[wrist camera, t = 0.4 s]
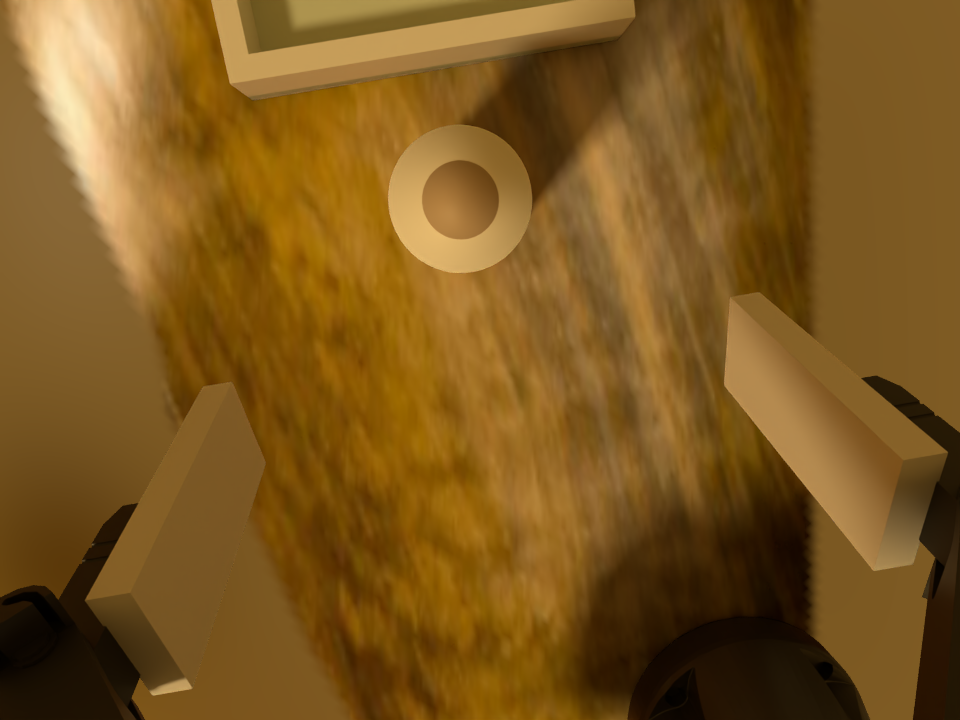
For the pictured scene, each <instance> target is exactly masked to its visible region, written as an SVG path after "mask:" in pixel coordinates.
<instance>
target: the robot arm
mask: <svg viewBox="0 0 960 720" xmlns="http://www.w3.org/2000/svg"><path fill="white" fill-rule="evenodd" d="M724 386H725V387H726V388H727V389H728V391H729V392H730V393H731V394H732V396H733V397H734V398H735V399H736V400H737V402H738V403H739V404H740V405H741V407H742V408H743V409H744V410H745V412H746V413H747V414H748V415H749V417H750V418H751V419H752V420H753V422H754V423H755V424H756V425H757V427H758V428H759V429H760V430H761V432H762V433H763V434H764V435H765V437H766V438H767V439H768V440H769V442H770V443H771V444H772V445H773V447H774V448H775V449H776V450H777V452H778V453H779V454H780V455H781V457H782V458H783V459H784V460H785V462H786V463H787V464H788V465H789V466H790V468H791V469H792V470H793V471H794V473H795V474H796V475H797V476H798V478H799V479H800V480H801V481H802V483H803V484H804V485H805V486H806V488H807V489H808V490H809V491H810V493H811V494H812V495H813V496H814V498H815V499H816V500H817V501H818V503H819V504H820V505H821V506H822V508H823V509H824V510H825V511H826V513H827V514H828V515H829V516H830V517H831V519H832V520H833V521H834V523H835V524H836V525H837V526H838V527H839V529H840V530H841V531H842V532H843V534H844V535H845V536H846V537H847V539H848V540H849V541H850V542H851V544H852V545H853V546H854V547H855V549H856V550H857V551H858V552H859V554H860V555H861V556H862V557H863V559H864V560H865V561H866V562H867V563H868V565H869V566H870V567H871V569H872V570H873V571H878V570H884V569H889V568H895V567H901V566H907V565H913V563H914V560H915V557H916V554H917V550H918V547H919V544H920V542H921V543H922V544H923V545H924V546H925V547H926V548H927V549H928V550H929V551H930V552H931V553H932V554H933V555H934V557H935V561H934V563H933V566H932V569H931V572H930V575H929V578H928V581H927V584H926V587H925V590H924V593H923V596H922V597H923V598H926V599H928V601H927V609H926V617H925V625H924V634H923V642H922V650H921V658H920V667H919V674H918V682H917V691H916V699H915V707H914V715H913V720H960V433H959V432H958V431H957V430H955V429H954V428H953V427H952V426H950V425H949V424H948V423H947V422H945V421H944V420H943V419H942V418H940V417H939V416H935V415H934V412H933V411H932V410H930V409H929V408H928V407H927V406H925V405H924V404H920V402H919V400H918V399H916V398H915V397H914V396H913V395H911V394H910V393H909V392H908V391H906V390H905V389H904V388H902V387H901V386H899V385H896V384H894V383H892V382H890V381H887V380H885V379H883V378H880V377H878V376H871V377H865V378H860V377H858V376H857V375H856V374H855V373H854V372H852V370H850V369H849V368H848V367H847V366H845V365H844V364H843V363H842V362H841V361H840V360H839V359H837V358H836V357H835V356H834V355H833V354H831V353H830V352H829V351H828V350H827V349H826V348H824V347H823V346H822V345H821V344H820V343H818V342H817V341H816V340H815V339H814V338H813V337H811V336H810V335H809V334H808V333H807V332H806V331H804V330H803V329H802V328H801V327H800V326H798V325H797V324H796V323H795V322H794V321H793V320H791V319H790V318H789V317H788V316H787V315H785V314H784V313H783V312H782V311H781V310H780V309H778V308H777V307H776V306H775V305H774V304H772V303H771V302H770V301H769V300H768V299H767V298H765V297H764V296H763V295H762V294H761V293H760V292H757V293H751V294H746V295H740V296H734V297H730V307H729V321H728V335H727V350H726V364H725V378H724ZM265 464H266V462H265V460H264V458H263V455H262V453H261V450H260V448H259V446H258V443H257V441H256V438H255V436H254V433H253V431H252V429H251V426H250V424H249V421H248V419H247V417H246V414H245V412H244V409H243V407H242V405H241V402H240V400H239V397H238V395H237V393H236V390H235V388H234V385H233V383H232V382H228V383H222V384H216V385H210V386H204V387H202V389H201V391H200V393H199V395H198V396H197V398H196V400H195V402H194V404H193V405H192V407H191V409H190V411H189V413H188V414H187V416H186V418H185V420H184V422H183V424H182V425H181V427H180V429H179V431H178V433H177V434H176V436H175V438H174V440H173V442H172V443H171V445H170V447H169V449H168V451H167V453H166V454H165V456H164V458H163V460H162V462H161V463H160V465H159V467H158V469H157V471H156V473H155V474H154V476H153V478H152V480H151V482H150V483H149V485H148V487H147V489H146V491H145V493H144V494H143V496H142V498H141V500H140V502H139V503H136V504H131V505H125V506H122V507H121V508H120V509H119V510H118V511H117V512H116V513H115V514H114V515H113V516H112V517H111V518H110V519H109V520H108V521H106V522H105V523H104V524H103V526H102V528H101V529H100V531H99V533H98V534H97V536H96V538H95V539H94V541H93V543H92V548H89V549H88V551H87V553H86V554H85V556H84V558H83V559H82V564H79V566H78V568H77V569H76V571H75V573H74V574H73V576H72V578H71V579H70V581H69V583H68V584H67V586H66V588H65V589H64V591H63V593H62V594H61V596H60V598H59V600H58V599H57V598H56V597H55V595H54V594H53V593H52V592H51V591H50V590H49V589H48V588H47V587H45V586H35V585H33V586H29V587H24V588H20V589H17V590H15V591H13V592H11V593H9V594H7V595H4V596H2V597H0V720H145V719H144V717H143V715H142V714H141V712H140V710H139V708H138V706H137V705H136V704H135V703H134V701H133V700H132V695H133V693H134V690H135V688H136V685H137V683H138V680H139V678H141V680H142V681H143V683H144V684H145V685H146V687H147V688H148V690H149V691H150V692H151V693H152V695H159V694H164V693H170V692H176V691H182V690H187V689H193V686H194V683H195V680H196V677H197V674H198V671H199V667H200V664H201V661H202V658H203V655H204V652H205V649H206V646H207V643H208V640H209V637H210V633H211V630H212V628H213V624H214V621H215V618H216V615H217V612H218V609H219V606H220V603H221V600H222V597H223V594H224V591H225V587H226V584H227V581H228V578H229V575H230V572H231V569H232V566H233V563H234V560H235V557H236V553H237V550H238V547H239V544H240V541H241V538H242V535H243V532H244V529H245V526H246V523H247V520H248V517H249V513H250V510H251V507H252V504H253V501H254V498H255V495H256V492H257V489H258V486H259V483H260V480H261V476H262V473H263V470H264V467H265ZM628 720H870V719H869V716H868V713H867V711H866V709H865V706H864V704H863V701H862V699H861V696H860V694H859V692H858V690H857V688H856V687H855V685H854V683H853V682H852V680H851V678H850V677H849V676H848V674H847V673H846V671H845V670H844V669H843V668H842V667H841V666H840V665H839V664H838V662H837V661H836V660H835V659H834V658H833V657H832V656H831V655H830V654H829V653H828V651H827V650H826V649H825V648H824V647H823V646H822V645H821V644H820V643H819V642H818V641H816V640H815V639H814V638H813V637H811V636H810V635H808V634H807V633H805V632H804V631H802V630H800V629H798V628H796V627H794V626H791V625H789V624H786V623H783V622H780V621H776V620H771V619H765V618H754V617H743V618H732V619H726V620H721V621H717V622H713V623H710V624H707V625H704V626H702V627H699V628H697V629H695V630H693V631H691V632H689V633H687V634H685V635H683V636H682V637H680V638H679V639H677V640H676V641H674V642H673V643H672V644H670V645H669V646H668V647H666V648H665V649H664V650H663V651H662V652H661V653H660V654H659V655H658V656H657V657H656V658H655V659H654V660H653V661H652V663H651V664H650V665H649V666H648V668H647V669H646V670H645V672H644V673H643V675H642V677H641V678H640V680H639V682H638V684H637V686H636V688H635V691H634V693H633V696H632V699H631V702H630V707H629V712H628Z"/></svg>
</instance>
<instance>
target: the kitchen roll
mask: <svg viewBox="0 0 960 720" xmlns="http://www.w3.org/2000/svg"><path fill="white" fill-rule="evenodd" d="M388 205H389V213H390V217H391V220H392V223H393V226H394V229H395V231H396V233H397V235H398V236H399V238H400V240H401V241H402V243H403V244H404V245H405V247H406V248H407V249H408V250H409V251H410V252H411V253H412V254H413V255H414V256H416V257H417V258H418V259H419V260H421V261H422V262H424V263H426V264H427V265H429V266H431V267H434V268H436V269H439V270H442V271H446V272H452V273H469V272H475V271H479V270H483V269H485V268H488V267H490V266H492V265H494V264H496V263H498V262H499V261H501V260H502V259H503V258H505V257H506V256H507V255H508V254H509V253H510V252H511V251H512V250H513V249H514V248H515V247H516V245H517V244H518V243H519V241H520V240H521V238H522V237H523V235H524V233H525V231H526V228H527V226H528V223H529V220H530V215H531V210H532V188H531V184H530V179H529V176H528V173H527V170H526V168H525V166H524V164H523V162H522V160H521V159H520V157H519V156H518V154H517V153H516V152H515V151H514V150H513V148H512V147H511V146H510V145H509V144H508V143H506V142H505V141H504V140H503V139H502V138H500V137H499V136H497V135H496V134H494V133H492V132H490V131H488V130H485V129H482V128H479V127H475V126H470V125H449V126H444V127H440V128H437V129H434V130H432V131H429V132H428V133H426V134H424V135H422V136H421V137H419V138H418V139H417V140H415V141H414V142H413V143H412V144H411V145H410V146H409V147H408V148H407V149H406V150H405V151H404V153H403V154H402V155H401V157H400V159H399V160H398V162H397V164H396V166H395V168H394V171H393V173H392V176H391V180H390V184H389V191H388Z"/></svg>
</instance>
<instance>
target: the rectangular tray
mask: <svg viewBox="0 0 960 720" xmlns="http://www.w3.org/2000/svg"><path fill="white" fill-rule="evenodd" d="M211 1H212V6H213V10H214V15H215V19H216V24H217V28H218V32H219V37H220V41H221V46H222V50H223V55H224V59H225V64H226V68H227V72H228V77H229V81H230V84H231V85H232V86H234V87H235V88H237V89H238V90H239V91H241V92H242V93H243V94H245V95H246V96H248V97H249V98H250V99H252V100H258V99H264V98H270V97H276V96H282V95H288V94H294V93H300V92H306V91H312V90H318V89H325V88H331V87H337V86H343V85H349V84H355V83H361V82H367V81H373V80H379V79H385V78H391V77H397V76H403V75H409V74H415V73H421V72H427V71H433V70H439V69H445V68H451V67H457V66H463V65H469V64H476V63H482V62H488V61H494V60H500V59H506V58H512V57H518V56H524V55H530V54H536V53H542V52H548V51H554V50H560V49H566V48H572V47H578V46H584V45H590V44H596V43H602V42H608V41H614V40H618V39H619V38H620V36H621V35H622V34H623V32H624V31H625V30H626V29H627V27H628V26H629V25H630V23H631V22H632V21H633V20H634V18H635V17H636V15H635V6H634V0H211Z"/></svg>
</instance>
